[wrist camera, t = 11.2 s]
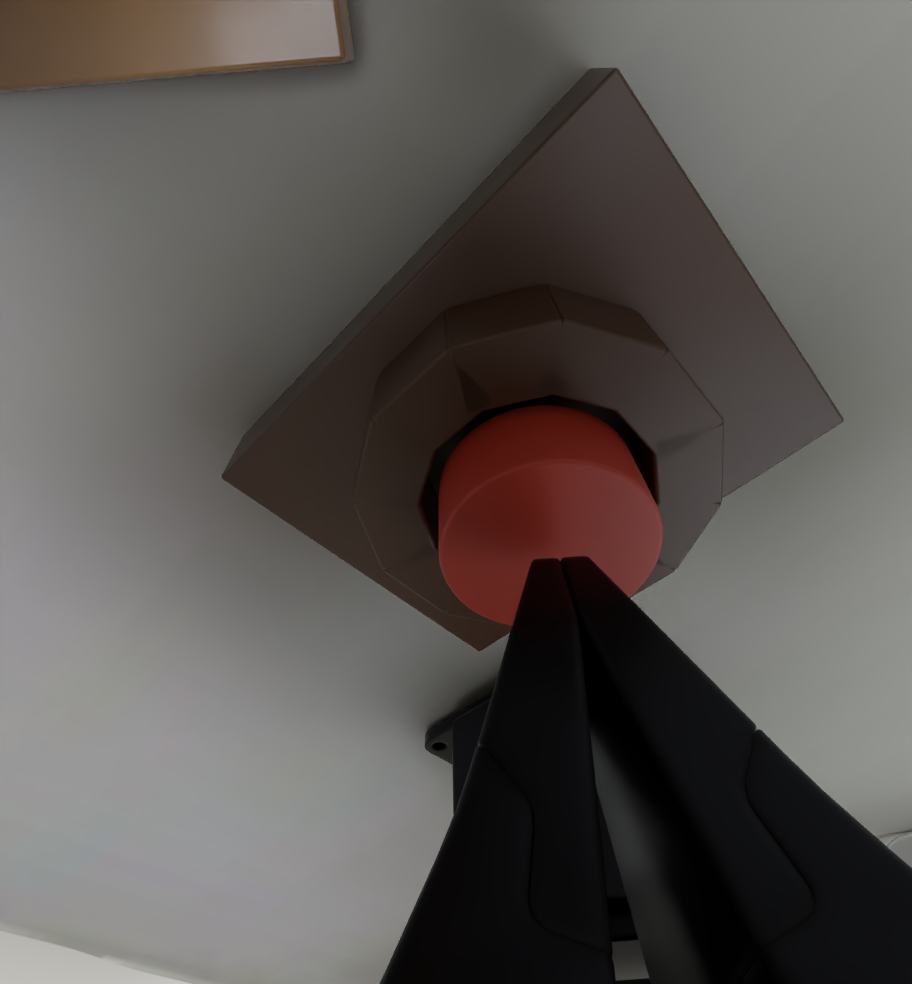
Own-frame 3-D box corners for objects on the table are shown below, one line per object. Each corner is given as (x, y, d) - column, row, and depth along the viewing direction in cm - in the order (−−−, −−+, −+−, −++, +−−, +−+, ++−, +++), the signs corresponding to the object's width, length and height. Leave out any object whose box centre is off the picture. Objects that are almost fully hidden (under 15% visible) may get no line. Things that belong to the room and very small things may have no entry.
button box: (802, 384, 13) (903, 471, 10) (476, 605, 17) (483, 712, 14) (591, 66, 10) (656, 64, 7) (242, 436, 14) (189, 533, 11)
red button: (672, 490, 11) (707, 555, 9) (524, 589, 12) (535, 657, 11) (551, 361, 9) (572, 413, 8) (398, 490, 11) (391, 554, 9)
